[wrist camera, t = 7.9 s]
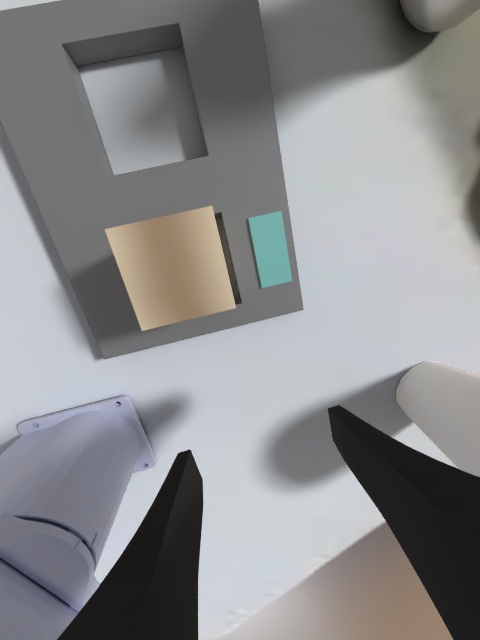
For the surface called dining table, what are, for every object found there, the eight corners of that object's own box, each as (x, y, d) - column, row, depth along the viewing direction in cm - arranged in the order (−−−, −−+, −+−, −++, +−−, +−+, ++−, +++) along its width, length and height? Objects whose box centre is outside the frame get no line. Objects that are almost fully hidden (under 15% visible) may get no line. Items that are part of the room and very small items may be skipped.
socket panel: (112, 351, 19) (103, 360, 17) (-17, 44, 13) (-49, 14, 12) (296, 306, 19) (304, 310, 18) (249, -3, 14) (253, -37, 12)
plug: (168, 304, 18) (142, 331, 12) (147, 241, 17) (104, 229, 10) (227, 290, 19) (236, 308, 12) (212, 226, 17) (212, 205, 10)
